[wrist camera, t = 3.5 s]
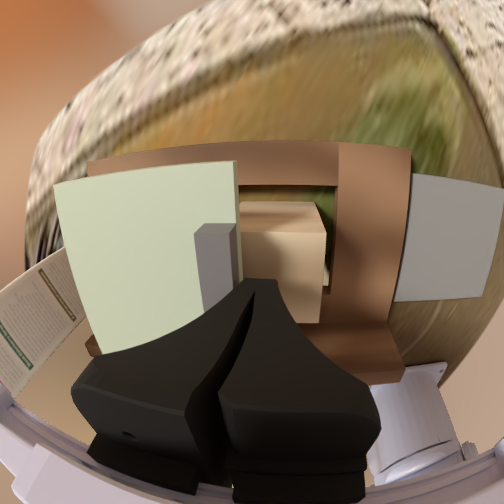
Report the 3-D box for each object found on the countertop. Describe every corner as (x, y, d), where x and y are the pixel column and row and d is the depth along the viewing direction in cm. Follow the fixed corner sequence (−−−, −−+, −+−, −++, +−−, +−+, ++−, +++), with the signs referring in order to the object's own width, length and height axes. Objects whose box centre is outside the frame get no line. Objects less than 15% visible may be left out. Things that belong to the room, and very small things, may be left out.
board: (379, 324, 19) (399, 382, 13) (126, 312, 22) (90, 356, 16) (403, 148, 14) (455, 155, 8) (96, 160, 17) (36, 174, 11)
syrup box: (75, 237, 20) (-54, 329, 6) (112, 293, 21) (6, 412, 8) (50, 263, 21) (-52, 345, 8) (82, 312, 23) (-6, 409, 10)
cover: (249, 387, 14) (244, 414, 12) (117, 364, 15) (103, 385, 14) (237, 160, 10) (224, 164, 8) (63, 181, 11) (36, 190, 9)
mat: (477, 293, 17) (481, 296, 16) (391, 297, 18) (393, 301, 17) (500, 187, 13) (505, 189, 13) (409, 172, 15) (413, 173, 14)
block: (311, 268, 18) (318, 323, 13) (244, 267, 19) (225, 319, 13) (314, 202, 16) (326, 232, 11) (241, 201, 17) (217, 231, 11)
